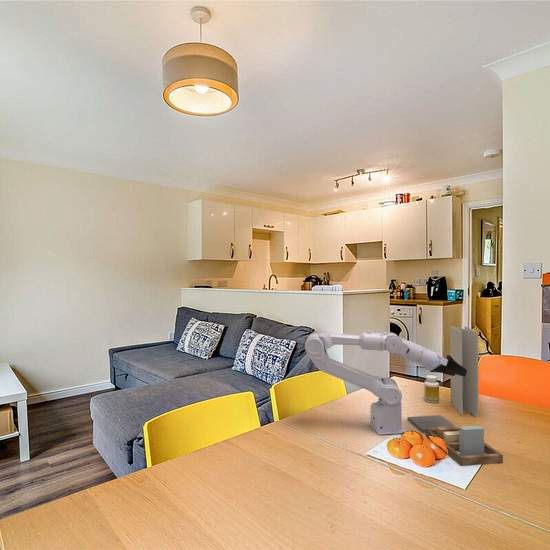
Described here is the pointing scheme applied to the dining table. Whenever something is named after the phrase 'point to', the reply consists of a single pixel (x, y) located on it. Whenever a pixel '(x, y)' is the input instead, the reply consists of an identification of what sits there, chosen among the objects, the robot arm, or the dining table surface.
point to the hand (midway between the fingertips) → (460, 373)
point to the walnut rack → (487, 458)
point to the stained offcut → (446, 430)
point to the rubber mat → (429, 422)
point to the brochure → (467, 357)
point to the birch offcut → (451, 436)
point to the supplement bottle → (431, 389)
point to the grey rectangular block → (471, 440)
